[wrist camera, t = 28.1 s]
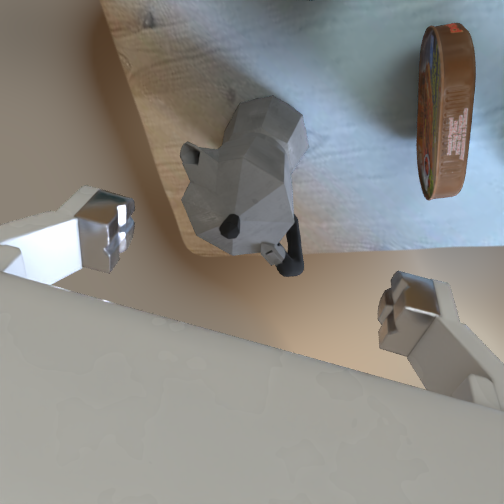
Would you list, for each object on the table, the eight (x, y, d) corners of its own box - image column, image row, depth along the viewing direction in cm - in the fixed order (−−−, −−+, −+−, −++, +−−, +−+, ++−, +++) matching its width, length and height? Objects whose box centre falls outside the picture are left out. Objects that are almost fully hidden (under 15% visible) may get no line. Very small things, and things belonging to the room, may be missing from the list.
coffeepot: (196, 112, 45) (126, 196, 32) (264, 57, 41) (217, 128, 27) (279, 215, 51) (251, 324, 38) (347, 178, 47) (344, 286, 33)
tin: (420, 17, 36) (435, 38, 30) (460, 11, 36) (484, 31, 29) (414, 174, 45) (424, 217, 39) (446, 172, 44) (462, 215, 38)
